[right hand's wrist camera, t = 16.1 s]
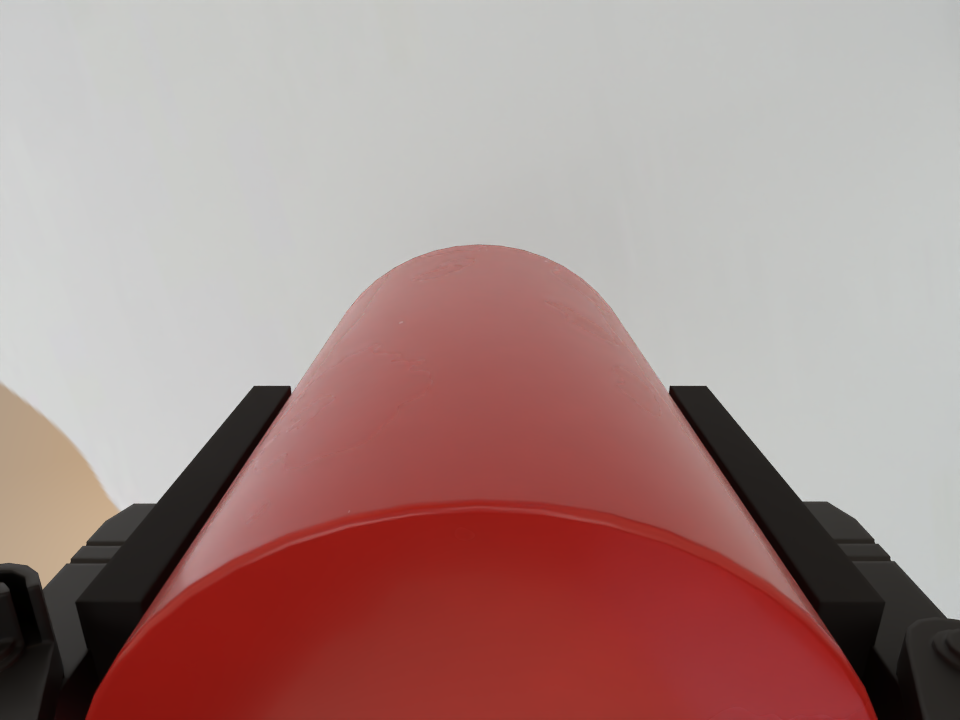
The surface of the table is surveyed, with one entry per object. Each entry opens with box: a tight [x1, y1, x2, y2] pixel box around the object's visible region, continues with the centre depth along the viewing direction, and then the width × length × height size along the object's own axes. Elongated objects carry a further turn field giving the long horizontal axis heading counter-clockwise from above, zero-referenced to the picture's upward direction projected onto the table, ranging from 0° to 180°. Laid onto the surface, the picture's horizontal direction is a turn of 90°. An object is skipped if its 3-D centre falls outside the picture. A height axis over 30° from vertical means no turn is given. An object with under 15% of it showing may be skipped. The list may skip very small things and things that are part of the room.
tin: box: [85, 245, 878, 720], centre depth 12 cm, size 8×8×11 cm
